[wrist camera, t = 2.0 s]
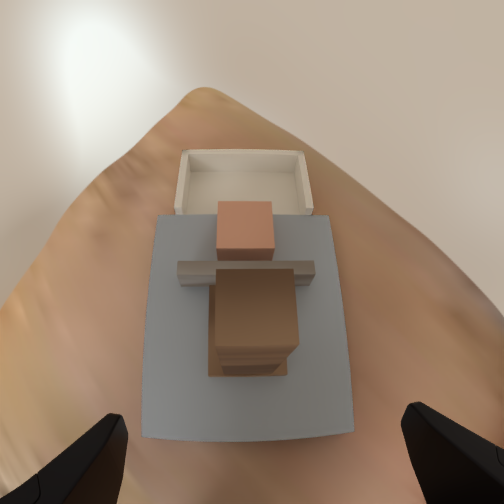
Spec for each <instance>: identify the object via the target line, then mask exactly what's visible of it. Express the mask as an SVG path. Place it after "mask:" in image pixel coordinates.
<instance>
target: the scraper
mask: <svg viewBox="0 0 504 504" xmlns="http://www.w3.org/2000/svg"><path fill="white" fill-rule="evenodd" d="M176 275H177V277H178V280H179V282H180V285H181V287H209V317H208V376H209V377H265V376H286V375H287V374H288V372H287V357H288V356H289V355H290V354H291V353H292V352H293V351H294V350H295V349H296V348H297V346H298V345H299V330H298V317H297V304H296V292H295V286H310V284H311V282H312V280H313V278H314V276H315V275H316V272H315V264H314V260H305V261H178V262H177V274H176Z"/></svg>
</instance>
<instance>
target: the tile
mask: <svg viewBox="0 0 504 504" xmlns="http://www.w3.org/2000/svg"><path fill="white" fill-rule="evenodd" d="M216 250H217V260H218V261H272V259H273V255H274V250H275V241H274V228H273V214H272V201H218V212H217V241H216Z"/></svg>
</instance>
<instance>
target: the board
mask: <svg viewBox="0 0 504 504" xmlns="http://www.w3.org/2000/svg"><path fill="white" fill-rule="evenodd" d="M273 228H274V241H275V250H274V255H273V259H272V261H305V260H314V264H315V272H316V275H315V276H314V278H313V280H312V282H311V284H310V286H295V292H296V304H297V317H298V330H299V345H298V346H297V348H296V349H295V350H294V351H293V352H292V353H291V354H290V355H289V356H288V357H287V372H288V374H287V375H286V376H265V377H209V376H208V317H209V287H181V285H180V282H179V280H178V277H177V275H176V274H177V262H178V261H218V260H217V250H216V241H217V214H190V215H158V219H157V225H156V232H155V239H154V247H153V255H152V263H151V271H150V280H149V290H148V300H147V311H146V323H145V337H144V353H143V374H142V437H146V438H156V439H168V440H182V441H203V442H254V441H276V440H290V439H301V438H311V437H320V436H328V435H336V434H343V433H349V432H354V414H353V399H352V386H351V374H350V363H349V353H348V344H347V335H346V326H345V318H344V310H343V302H342V295H341V288H340V281H339V274H338V267H337V261H336V255H335V249H334V243H333V237H332V231H331V226H330V220H329V215H277V214H273Z"/></svg>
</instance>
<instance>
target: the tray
mask: <svg viewBox="0 0 504 504" xmlns="http://www.w3.org/2000/svg"><path fill="white" fill-rule="evenodd" d="M218 201H272V214H277V215H311V214H312V212H313V209H314V206H313V200H312V194H311V189H310V183H309V177H308V172H307V166H306V161H305V156H304V151H292V150H263V149H198V150H182V156H181V163H180V169H179V176H178V182H177V189H176V197H175V204H174V209H175V213H176V215H190V214H217V212H218Z"/></svg>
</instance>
